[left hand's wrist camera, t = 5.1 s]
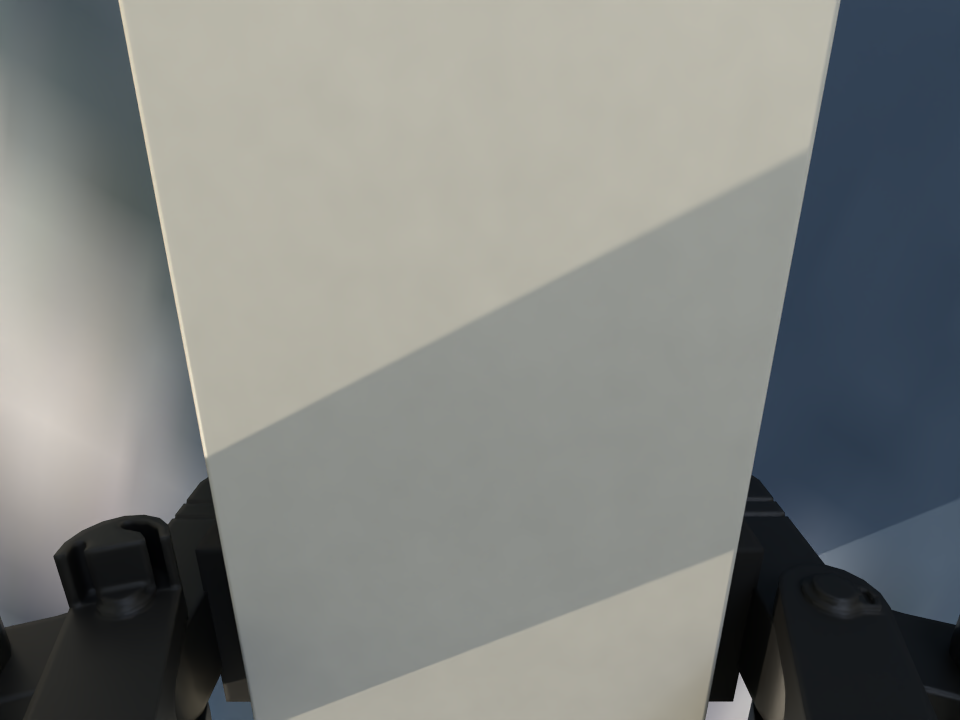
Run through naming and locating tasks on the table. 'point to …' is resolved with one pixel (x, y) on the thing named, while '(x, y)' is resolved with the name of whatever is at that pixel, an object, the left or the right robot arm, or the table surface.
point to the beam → (479, 332)
